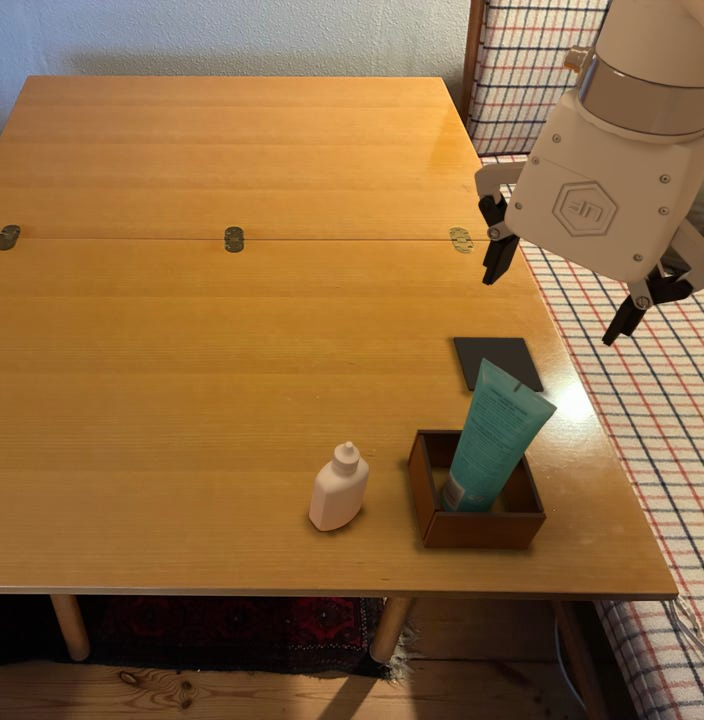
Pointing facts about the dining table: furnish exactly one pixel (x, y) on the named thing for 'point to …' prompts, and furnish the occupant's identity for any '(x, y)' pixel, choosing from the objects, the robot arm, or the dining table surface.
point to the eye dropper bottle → (339, 488)
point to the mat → (497, 359)
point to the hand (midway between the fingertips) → (551, 304)
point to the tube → (493, 439)
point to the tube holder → (471, 525)
